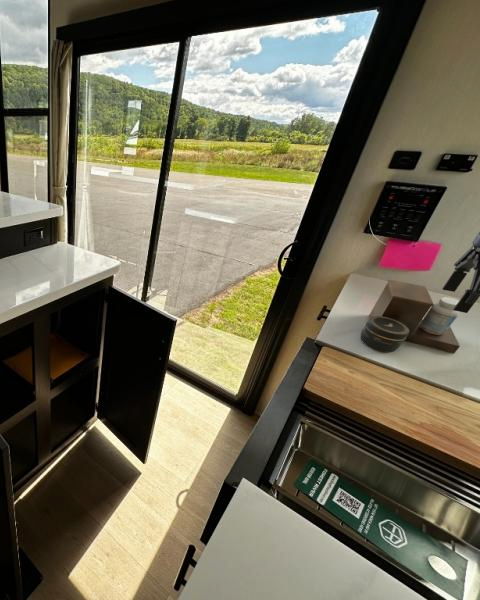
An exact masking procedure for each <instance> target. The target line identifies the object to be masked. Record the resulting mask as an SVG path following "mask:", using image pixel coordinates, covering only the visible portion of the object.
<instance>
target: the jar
mask: <svg viewBox="0 0 480 600" xmlns="http://www.w3.org/2000/svg"><path fill="white" fill-rule="evenodd" d="M408 334H409V329H408V328H407V326H405V325H404V324H403V323H401V322H399V321H397V320H394V319H391V318H388V317H383V316H373V317H371V318H370V317H368V319H367V321H366V323H365V325H364V327H363V328H362V330H361V331H360V336H359V337H360V340H361V342H362V341H363V342H364V343H363V342H362V343H363V344H364V345H365V346H367V347H369V348H370V349H373V350H375V351H378V352H384V353H391V352H394V351H396V350H398V349H399V348H400V347H401V346H402V344H403V342H405V341H404V340H405V339H406V338H407V336H408Z"/></svg>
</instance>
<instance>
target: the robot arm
mask: <svg viewBox="0 0 480 600" xmlns="http://www.w3.org/2000/svg"><path fill="white" fill-rule="evenodd" d="M453 266H454V270H453V272H452V273H451V275H450V276H449V278H448V280H447V281H446V282H445V284H444V285H443V287H442V288H441V289H442V290H443V291H447V292H451V293H452V292H453V293H455V292H456V291H457V290H458V288H459V286H460V285H461V283H462V282H463V281H464V279H465V278H466V276H467V275H468V273H470V272H471V270H472V269H473V270H474V273H473V276H472V280H471V283H470V287H469V289H465V290H464V294H463V295H461V298H460V299H459V300H458V301H459V302H458V303H457V305H456V306H455V307H454V309H453V310H454V311H459V312H460V313H464V314H468V313H469V311H470V310H471V309H472V307H473V306H474V305H475V304H476V302H477V301H478V299H479V298H480V231H479V232H478V233H477V234H476V236H475V238H474V239H473V241H472V245H471V246H470V248H469V249H468V250H467V251H466V252H465V253H464V254H463V255H461V257H460V258H458V260H457V261H456V262H455V263H454V264H453Z"/></svg>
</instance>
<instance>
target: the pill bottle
mask: <svg viewBox="0 0 480 600" xmlns="http://www.w3.org/2000/svg"><path fill="white" fill-rule="evenodd" d="M458 302H459V300H458V299H456V298H453V297H448V296H444V297H441V298H440V299H439V301H438V302H437V303H433V304H434V305H433V306H431V307H430V309H429V310H428V312H427V313H426V315H425V316H424V317H423V319H422V322H421V323H420V325H419V326H420V328H421V329H422V330H424V331H426V332H428V333H431V334H435V335H443V334H445V333H446V331H447V330H448V329H449V327H451V326H452V324H453V323H454V322H455V320H457V318H458V316H459V315H460V313H461V312H459V311H454V310H453V309H454V307H455V306H456V305H457V303H458Z"/></svg>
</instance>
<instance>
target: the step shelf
mask: <svg viewBox="0 0 480 600" xmlns="http://www.w3.org/2000/svg"><path fill="white" fill-rule="evenodd" d="M386 281H387V283H386V285H385V286H384V288H383V290H382V291H381V293H380V295H379V297H378V299H377V301H376V302H375V304H374V306H373V308H372V309H371V311H370V313H369V314H368V316H369V317H368V318H371V317H373V316H383V317H388V318H391V319H394V320H397V321H399V322H401V323H403V324H404V325H405V326H407V328H408V329H409V334H408V336H407V338H406V339H405V340H404V341H403V342H408V343H410V344H411V343H412V344H416V345H420V346H423V347H426V348H427V347H428V348H431V349H435V350H439V351H443V352H447V353H451V354H456V352H457V351H458V349H459V348H460V347H461V345H460V343H459V341H458V339H457V336H456V335H455V333H454V331H453V329H452V327H451V326H450V327H449V329H448V330H447V331H446V333H445V334H443V335H435V334H431V333H428V332H426V331H424V330H422V329H421V328H420V326H419V325H420V323H421V322H422V320H423V319H424V317H425V316H426V314H427V313H428V311H429V310H430V308H431V307H432V306H433V305H434V304H435V303H434V302H433V298H432V297H431V295H430V293H429V290H428V288H427V286H425V285H420V284H415V283H410V282H404V281H398V280H394V279H387V280H386Z"/></svg>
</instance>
